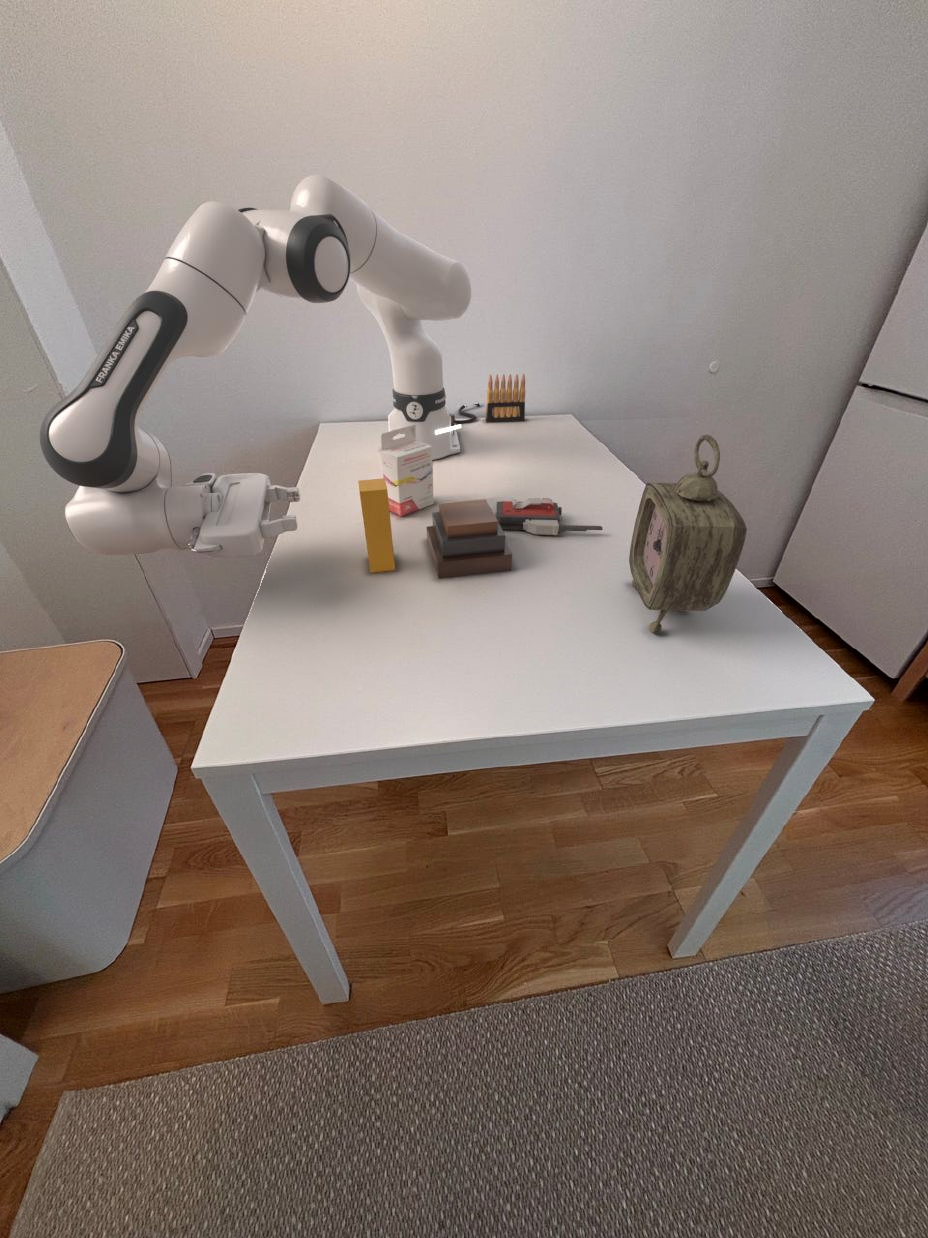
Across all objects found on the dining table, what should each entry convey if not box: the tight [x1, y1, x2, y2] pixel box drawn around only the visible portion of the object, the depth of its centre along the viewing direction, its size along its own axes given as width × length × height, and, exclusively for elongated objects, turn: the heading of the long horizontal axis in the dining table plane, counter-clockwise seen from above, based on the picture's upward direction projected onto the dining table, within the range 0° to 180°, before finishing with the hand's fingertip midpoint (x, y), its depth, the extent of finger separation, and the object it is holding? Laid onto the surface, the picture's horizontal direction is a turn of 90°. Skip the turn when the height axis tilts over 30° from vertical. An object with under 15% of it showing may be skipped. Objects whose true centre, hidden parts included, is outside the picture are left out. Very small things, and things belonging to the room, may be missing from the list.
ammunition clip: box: [485, 373, 526, 423], centre depth 139 cm, size 11×2×12 cm, turn 96°
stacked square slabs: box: [425, 498, 513, 579], centre depth 85 cm, size 12×12×8 cm
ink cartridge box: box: [380, 425, 435, 517], centre depth 97 cm, size 9×5×15 cm, turn 134°
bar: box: [357, 478, 396, 574], centre depth 80 cm, size 4×4×14 cm
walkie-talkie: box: [495, 497, 604, 536], centre depth 94 cm, size 9×4×20 cm
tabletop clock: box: [628, 434, 748, 634], centre depth 67 cm, size 14×9×25 cm, turn 178°
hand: (298, 507), depth 77 cm, fingers open, 8 cm apart
